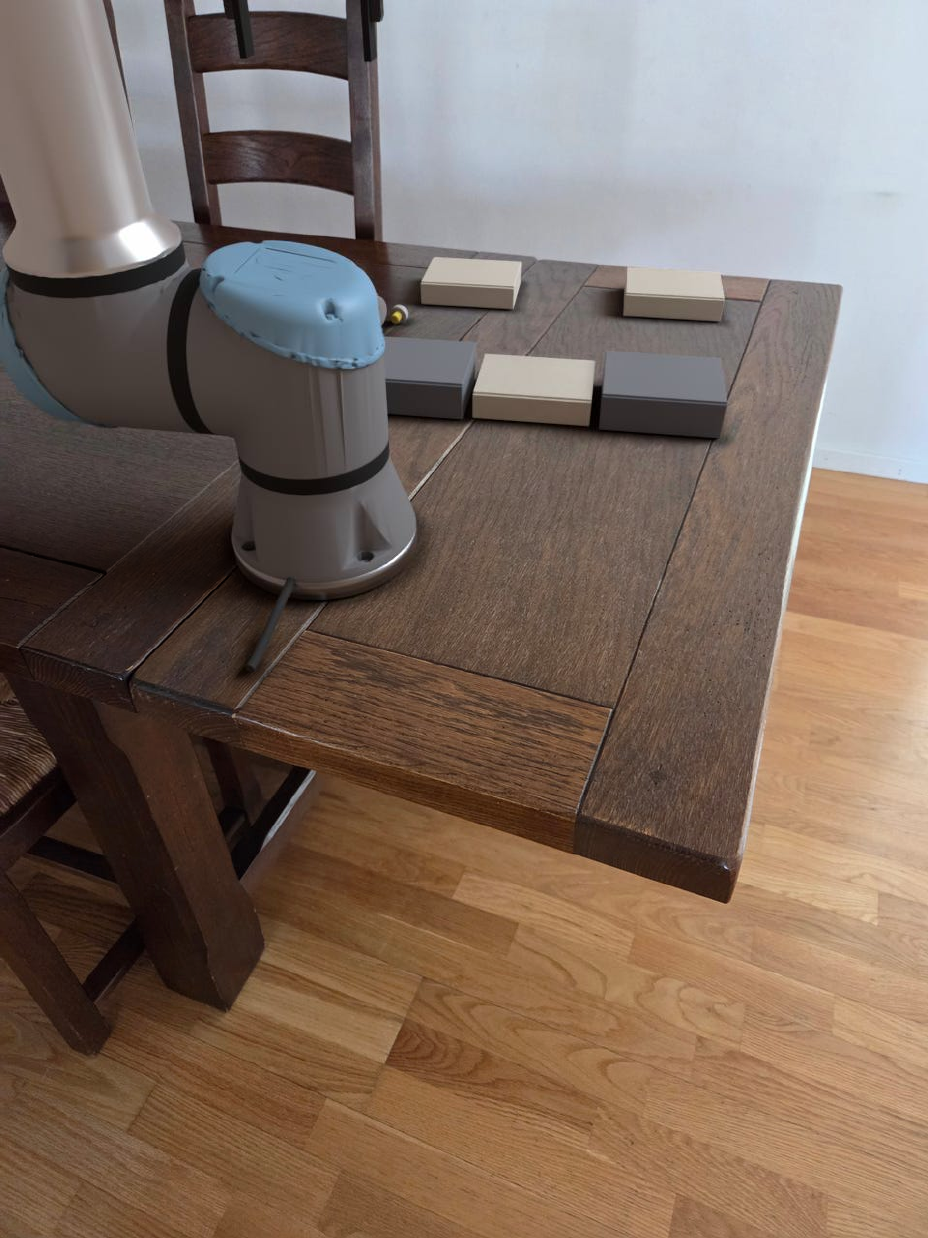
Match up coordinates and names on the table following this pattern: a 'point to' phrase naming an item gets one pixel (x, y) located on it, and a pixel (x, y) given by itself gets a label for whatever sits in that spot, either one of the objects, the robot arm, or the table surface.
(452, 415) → the grey lidded box
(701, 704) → the table surface
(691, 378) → the dark grey box
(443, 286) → the cream flat block
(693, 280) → the cream lidded box
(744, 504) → the table surface
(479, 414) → the beige flat box
